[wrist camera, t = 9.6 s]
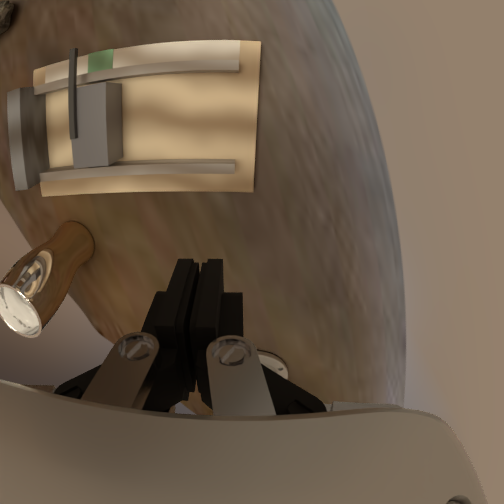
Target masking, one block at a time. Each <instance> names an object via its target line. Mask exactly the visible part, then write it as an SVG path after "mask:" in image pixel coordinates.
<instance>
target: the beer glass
mask: <svg viewBox="0 0 504 504" xmlns="http://www.w3.org/2000/svg"><path fill="white" fill-rule="evenodd" d="M93 253H94V241H93V238H92V236H91V234H90V232H89V231H88V230H87V229H86V228H85V227H84V226H83V225H82V224H80V223H78V222H74V221H68V222H65V223H63V224H62V225H61V226H60V227H59V228H58V229H57V231H56V233H55V234H54V236H53V237H52V238H51V239H50V240H49V241H47V242H45V243H44V244H42V245H40V246H38V247H36V248H35V249H33V250H31V251H30V252H28V253H27V254H25V255H24V256H23V257H21V258H20V259H19V260H18V261H17V262H16V263H15V264H14V265H13V266H12V267H11V269H9V270H8V272H7V273H6V274H5V275H4V277H3V278H2V279H1V281H0V317H1V318H2V320H3V321H4V322H5V323H6V324H7V325H8V326H9V327H10V328H11V329H12V330H13V331H15V332H16V333H18V334H20V335H22V336H24V337H28V338H35V337H37V336H39V335H40V333H41V331H42V330H43V329H44V327H45V326H46V325H47V324H48V322H49V321H50V320H51V319H52V317H53V316H54V315H55V313H56V312H57V310H58V309H59V307H60V306H61V304H62V302H63V301H64V299H65V296H66V294H67V292H68V290H69V288H70V285H71V283H72V280H73V278H74V276H75V274H76V271H77V270H78V268H79V267H80V266H82V265H83V264H84V263H86V262H87V261H88V260H89V259H90V258H91V257H92V255H93Z"/></svg>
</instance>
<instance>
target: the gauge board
mask: <svg viewBox="0 0 504 504" xmlns="http://www.w3.org/2000/svg"><path fill="white" fill-rule="evenodd" d="M260 51H261V42H260V41H240V40H201V41H181V42H168V43H157V44H148V45H140V46H133V47H127V48H120V49H115V50H114V49H109V50H104V51H99V52H94V53H90V54H88V55H85V56H81V57H77V87H82V86H87V85H92V84H97V83H103V82H112V83H122V143H123V158H121V159H119V160H117V161H116V162H114V163H112V164H110V165H109V166H96V167H85V168H74V166H73V155H72V143H71V140H70V134H69V111H68V76H69V60H66V61H62V62H58V63H55V64H52V65H48V66H46V67H42V68H39V69H36V70H34V78H33V87H26V88H18V89H16V90H13V91H10V92H7V109H8V131H9V143H10V153H11V162H12V170H13V177H14V183H15V189H16V191H17V190H25V189H29V188H31V187H33V186H34V185H36V184H38V183H40V186H41V192H42V197H45V196H58V195H73V194H91V193H114V192H151V191H222V192H253V186H254V167H255V147H256V128H257V108H258V89H259V70H260Z"/></svg>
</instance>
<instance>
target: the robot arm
mask: <svg viewBox="0 0 504 504" xmlns="http://www.w3.org/2000/svg"><path fill="white" fill-rule="evenodd" d="M287 379H288V370H287V367H286V365H285V363H284V362H283V361H282V360H281V359H280V358H278V357H277V356H275V355H273V354H270V353H267V352H262V351H257V349H256V347H255V345H254V344H253V343H252V342H251V341H250V340H248V339H246V338H244V337H243V296H242V293H226V292H224V284H223V259H208V262H207V263H202V267H201V271H200V272H199V263H194V260H193V259H178V261H177V264H176V266H175V269H174V272H173V274H172V277H171V280H170V283H169V285H168V288H167V291H166V292H164V291H158V292H156V294H155V297H154V299H153V302H152V304H151V307H150V309H149V312H148V314H147V317H146V319H145V322H144V325H143V327H142V330H141V332H134V333H130V334H127V335H124V336H123V337H121V338H120V339H119V340H118V341H117V342H116V343H115V345H114V346H113V348H112V349H111V351H110V352H109V354H108V356H107V357H106V359H105V360H104V362H103V363H102V364H101V365H99V366H97V367H95V368H93V369H91V370H89V371H87V372H85V373H83V374H81V375H79V376H77V377H75V378H73V379H71V380H69V381H67V382H65V383H63V384H61V385H60V386H59V387H58V388H57V389H56V388H55V387H54V385H23V384H16V383H12V382H8V381H4V380H1V379H0V504H488V503H487V500H486V497H485V494H484V492H483V489H482V486H481V483H480V481H479V478H478V476H477V474H476V471H475V469H474V467H473V465H472V463H471V460H470V458H469V456H468V454H467V452H466V450H465V449H464V447H463V445H462V443H461V442H460V440H459V439H458V437H457V436H456V434H455V432H454V431H453V430H452V429H451V427H450V426H449V425H448V424H447V423H446V422H445V421H443V420H442V419H441V418H439V417H437V416H435V415H433V414H430V413H427V412H423V411H419V410H412V409H405V408H402V407H400V406H398V405H394V404H375V403H351V402H336V401H333V403H332V405H331V404H323V402H322V401H320V400H319V399H318V398H317V397H315V396H313V395H311V394H310V393H308V392H306V391H305V390H303V389H301V388H300V387H298V386H296V385H295V384H293V383H291V382H290V381H288V380H287ZM196 380H197V386H198V391H199V393H201V398H202V401H203V402H204V403H205V404H206V405H207V406H209V407H210V408H211V409H212V410H213V415H214V416H213V415H191V414H177V413H175V404H177V403H178V402H180V401H182V400H185V401H188V398H189V392H194V391H195V385H196Z"/></svg>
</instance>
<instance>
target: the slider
mask: <svg viewBox="0 0 504 504" xmlns="http://www.w3.org/2000/svg"><path fill="white" fill-rule="evenodd" d="M77 57H78V49H77V48H73V49H70V54H69V76H68V111H69V134H70V140H71V143H72V155H73V166H74V168H85V167H96V166H109V165H110V164H112V163H114V162H116V161H117V160H119V159H121V158H123V143H122V83H112V82H103V83H97V84H92V85H87V86H82V87H77Z"/></svg>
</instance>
